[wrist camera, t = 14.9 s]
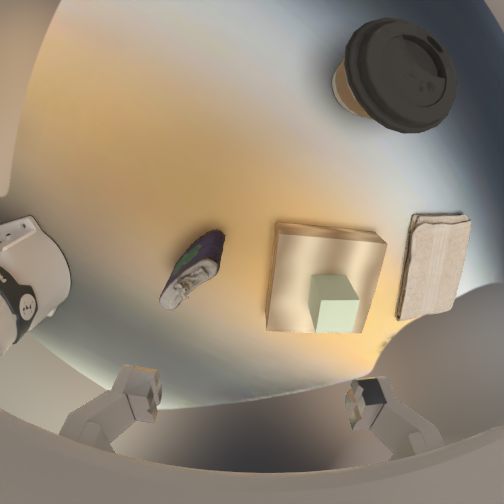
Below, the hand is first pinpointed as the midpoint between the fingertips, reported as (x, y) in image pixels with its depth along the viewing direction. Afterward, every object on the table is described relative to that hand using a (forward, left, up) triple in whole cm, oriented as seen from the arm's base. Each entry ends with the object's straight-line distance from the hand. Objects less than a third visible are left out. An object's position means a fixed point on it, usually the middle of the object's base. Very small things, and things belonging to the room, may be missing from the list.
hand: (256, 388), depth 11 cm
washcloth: (+29, -7, -30) cm, 42 cm away
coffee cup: (+12, +17, -29) cm, 36 cm away
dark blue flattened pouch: (-7, -7, -29) cm, 31 cm away
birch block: (+10, -9, -30) cm, 32 cm away
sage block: (+10, -9, -25) cm, 28 cm away
